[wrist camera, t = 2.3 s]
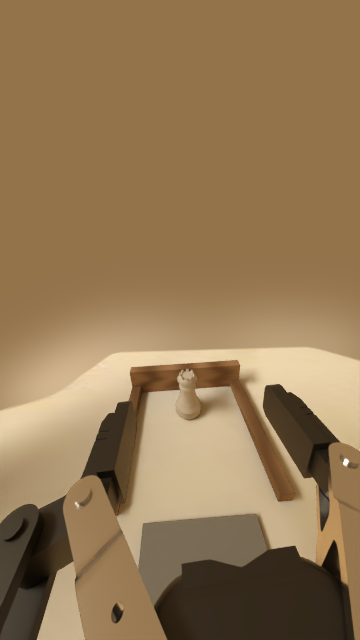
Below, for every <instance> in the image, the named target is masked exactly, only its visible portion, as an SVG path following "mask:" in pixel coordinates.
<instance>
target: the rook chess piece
mask: <svg viewBox="0 0 360 640" xmlns="http://www.w3.org/2000/svg"><path fill="white" fill-rule="evenodd" d="M177 381H178V383H180V384H179V388H180V396H179V397H178V399H177V401H176V412H177V414H178V415H179V416H180V417H182V418H184V419H193V418H195V417H197V416H198V415H199V413H200V411H201V406H200V401H199V399H198V397H197V396H196V393H195V388H196V384H195V383H196V381H197V376H196V375H195V373H194V371H193V370H191V372H190V371H189V369H186V371H184V370H181V373H179V376H178V377H177Z"/></svg>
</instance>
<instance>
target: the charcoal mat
mask: <svg viewBox="0 0 360 640" xmlns="http://www.w3.org/2000/svg"><path fill="white" fill-rule="evenodd" d="M267 550H268V549H267V546H266V543H265V540H264V537H263V534H262V530H261V527H260V524H259V521H258V518H257V514H246V515H235V516H223V517H212V518H201V519H189V520H178V521H167V522H155V523H144V524H143V529H142V539H141V549H140V559H139V569H138V571H139V573H140V575H141V578H142V580H143V583H144V585H145V587H146V590H147V592H148V595H149V597H150V600H151V602H152V604H153V607H154V605H155V603H156V601H157V600H158V598H159V597H160V595H161V594H162V592H163V591H164V589H165V588H166V587H167V586H168V585H169V583H171V582H172V581H173V580H174V579H175V578H176V577H178V576H179V575H181V574H182V566H181V564H183V563H189V562H195V561H202V560H208V559H211V560H215V561H219V562H223V563H227V564H231V565H235V566H239V567H243V566H245V565H246V564H248V563H249V562H251V561H252V560H254V559H255V558H257V557H258V556H260V555H261V554H263V553H264V552H266V551H267Z"/></svg>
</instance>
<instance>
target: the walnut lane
mask: <svg viewBox="0 0 360 640" xmlns="http://www.w3.org/2000/svg"><path fill="white" fill-rule="evenodd" d="M186 369H189V371H190V372H191V370H193V371H194V373H195V375H196V376H197V381H196V383H195V384H196V388H206V387H220V386H231V389H232V391H233V393H234V396H235V398H236V401H237V403H238V406H239V408H240V410H241V413H242V415H243V418H244V420H245V422H246V425H247V427H248V430H249V432H250V435H251V437H252V439H253V442H254V444H255V447H256V449H257V451H258V454H259V456H260V459H261V461H262V463H263V466H264V468H265V471H266V473H267V476H268V478H269V480H270V483H271V485H272V488H273V490H274V492H275V495H276V497H277V500H278V501H288V500H292V499H293V496H294V494H295V492H294V490H293V488H292V486H291V484H290V482H289V480H288V478H287V476H286V474H285V472H284V470H283V468H282V466H281V464H280V462H279V460H278V458H277V456H276V454H275V452H274V450H273V448H272V446H271V444H270V442H269V440H268V438H267V436H266V434H265V432H264V430H263V428H262V426H261V424H260V422H259V420H258V417H257V415H256V413H255V411H254V409H253V407H252V405H251V403H250V401H249V399H248V397H247V395H246V393H245V391H244V389H243V387H242V385H241V383H240V381H239V371H240V364H239V362H238V360H232V361H218V362H203V363H188V364H174V365H159V366H144V367H131V370H130V376H131V381H132V391H131V395H130V398H129V401H132V403H133V408H134V412H135V417H136V419H137V413H138V408H139V403H140V398H141V393H142V392H150V391H164V390H178V389H180V388H179V384H180V383H178V381H177V377H178V376H179V373H181V370H184V371H186ZM119 506H120V504H118V505H117V511H116V515H118V511H119Z"/></svg>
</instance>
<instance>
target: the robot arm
mask: <svg viewBox="0 0 360 640" xmlns="http://www.w3.org/2000/svg"><path fill="white" fill-rule="evenodd" d="M263 409H264V412H265V415H266V417H267V418H268V420H269V422H270V423H271V425H272V427H273V428H274V430H275V431H276V433H277V435H278V436H279V438H280V440H281V441H282V443H283V445H284V446H285V448H286V449H287V451H288V453H289V454H290V456H291V458H292V459H293V461H294V463H295V464H296V466H297V467H298V469H299V471H300V472H301V474H302V476H303V477H304V478H311V477H313V478H314V479H315V481H316V482H317V486H316V494H317V524H318V540H317V548H316V563H314V562H312V561H310V560H308V559H305V558H303V557H300V556H299V554H298V551H297V549H296V547H295V546H290V547H284V548H277V549H271V550H267V551H266V552H264V553H263V554H261V555H260V556H258V557H257V558H255V559H254V560H252V561H251V562H249V563H248V564H246V565H245V566H243V567H239V566H235V565H231V564H227V563H223V562H219V561H215V560H211V559H208V560H202V561H195V562H189V563H183V564H181V566H182V574H181V575H179V576H178V577H176V578H175V579H174V580H173V581H172V582H171V583H169V585H168V586H167V587H166V588H165V589H164V591H163V592H162V594H161V595H160V597H159V598H158V600H157V601H156V603H155V605H154V607H153V604H152V602H151V600H150V597H149V595H148V592H147V590H146V587H145V585H144V583H143V580H142V578H141V575H140V573H139V571H138V568H137V566H136V563H135V561H134V558H133V556H132V554H131V551H130V549H129V546H128V544H127V542H126V539H125V537H124V534H123V532H122V530H121V528H120V526H119V523H118V521H117V518H116V511H117V505H118V504H120V503H125V500H126V493H127V487H128V481H129V475H130V468H131V462H132V456H133V449H134V443H135V437H136V429H137V422H136V417H135V412H134V408H133V403H132V401H127V402H119V403H118V404H117V407H116V410H115V413H109V414H108V415H107V416H106V418H105V419H104V420H103V421H102V423H101V426H100V429H99V433H98V434H97V437H96V441H95V442H94V445H93V448H92V451H91V453H90V456H89V459H88V462H87V464H86V467H85V470H84V472H83V475H82V477H81V479H80V480H79V481H78V482H76V483H75V484H74V485H73V487H72V488H71V489H70V490H69V492H68V494H67V495H65V496H64V497H62V498H60V499H58V500H56V501H54V502H52V503H50V504H48V505H46V506H44V507H42V508H40V509H38V508H37V507H36V506H35V505H33V504H27V505H23V506H21V507H19V508H17V509H16V510H14V511H13V512H12V513H10V514H9V515H8V516H7V517H6V518H5V519H4V520H3V521H2V522H1V524H0V640H37V636H38V633H39V630H40V626H41V623H42V620H43V616H44V613H45V610H46V606H47V603H48V600H49V596H50V593H51V590H52V586H53V583H54V580H55V577H56V573H57V571H58V570H60V569H62V568H63V567H65V566H66V565H68V564H70V563H71V562H73V561H74V566H75V571H76V579H75V589H76V595H77V601H78V606H79V611H80V616H81V621H82V626H83V631H84V636H85V640H360V452H359V451H358V450H357V449H355V448H353V447H352V446H349V445H347V444H344V443H341V442H340V441H339V440H338V439H337V438H336V437H335V436H334V435H333V434H332V433H331V432H330V431H329V429H328V428H327V427H326V426H325V425H324V424H323V423H322V422H321V421H320V420H319V418H318V417H317V416H316V415H314V414H313V412H312V411H311V410H310V409H309V408H308V407H307V405H306V404H305V403H304V402H303V401H302V400H301V399H300V398H299V397H297V396H296V395H294V394H293V393H291V392H289V393H287V392H286V390H285V389H284V388H283V387H282V386H281V385H280V384H276V385H267V386H266V387H265V392H264V400H263Z"/></svg>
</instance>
